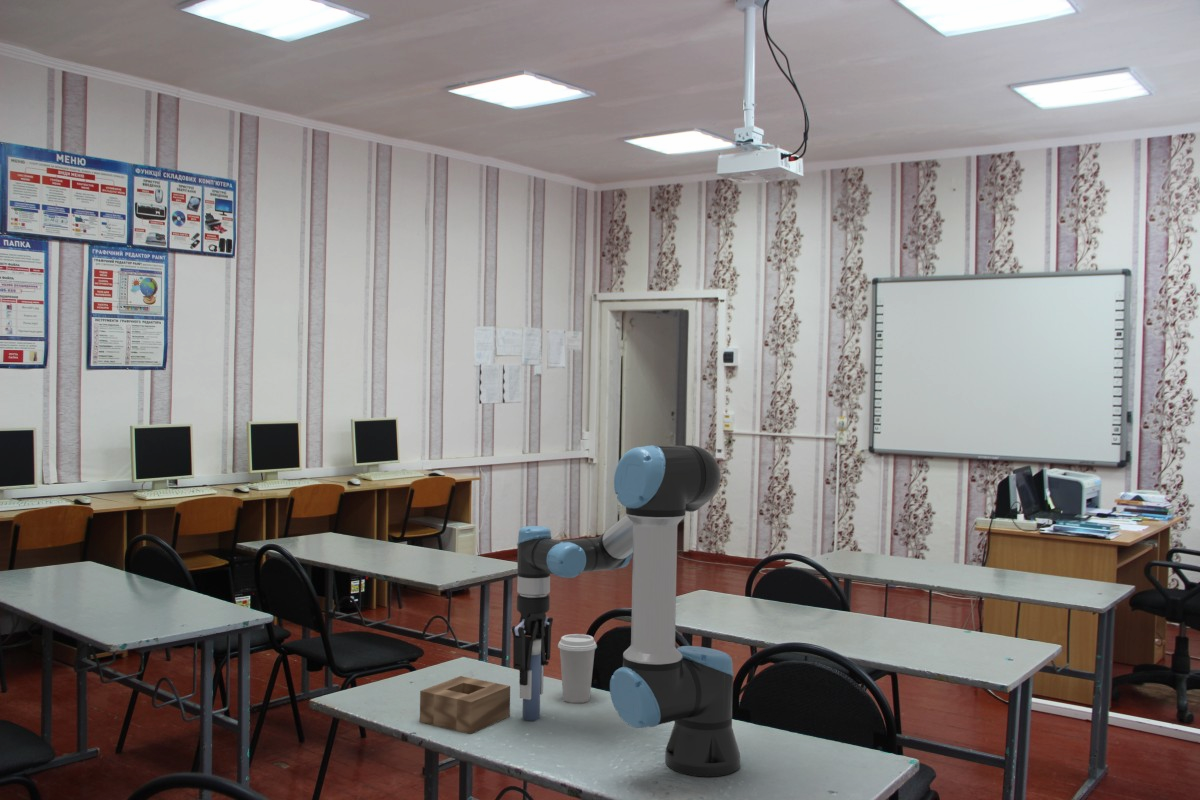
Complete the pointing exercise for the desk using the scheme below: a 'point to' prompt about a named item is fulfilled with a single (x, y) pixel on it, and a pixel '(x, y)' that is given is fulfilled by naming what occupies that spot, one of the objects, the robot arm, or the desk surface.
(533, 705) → the marker
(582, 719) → the desk surface
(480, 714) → the socket block
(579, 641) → the coffee cup
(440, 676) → the desk surface
